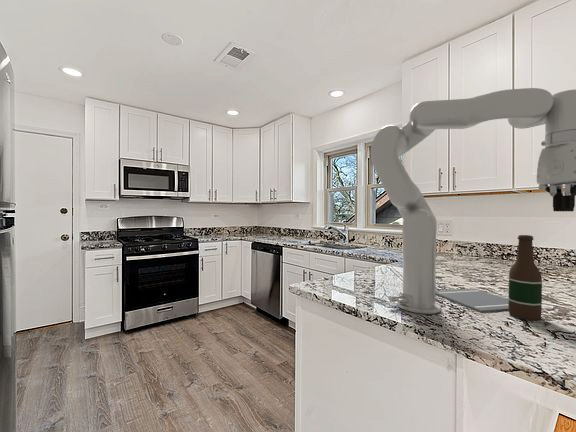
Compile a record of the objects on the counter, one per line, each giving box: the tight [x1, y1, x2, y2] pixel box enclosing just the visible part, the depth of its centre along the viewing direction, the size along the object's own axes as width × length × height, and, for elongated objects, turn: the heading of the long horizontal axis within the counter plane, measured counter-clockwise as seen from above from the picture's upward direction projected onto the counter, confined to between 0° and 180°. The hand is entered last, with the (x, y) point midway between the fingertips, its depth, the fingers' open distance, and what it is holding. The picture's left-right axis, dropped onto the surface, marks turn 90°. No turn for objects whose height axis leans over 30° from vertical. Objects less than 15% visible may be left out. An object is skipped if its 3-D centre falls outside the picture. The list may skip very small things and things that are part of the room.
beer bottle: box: [507, 234, 543, 322], centre depth 83 cm, size 8×8×24 cm
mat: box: [435, 288, 509, 314], centre depth 99 cm, size 20×22×1 cm
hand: (563, 210), depth 73 cm, fingers closed
